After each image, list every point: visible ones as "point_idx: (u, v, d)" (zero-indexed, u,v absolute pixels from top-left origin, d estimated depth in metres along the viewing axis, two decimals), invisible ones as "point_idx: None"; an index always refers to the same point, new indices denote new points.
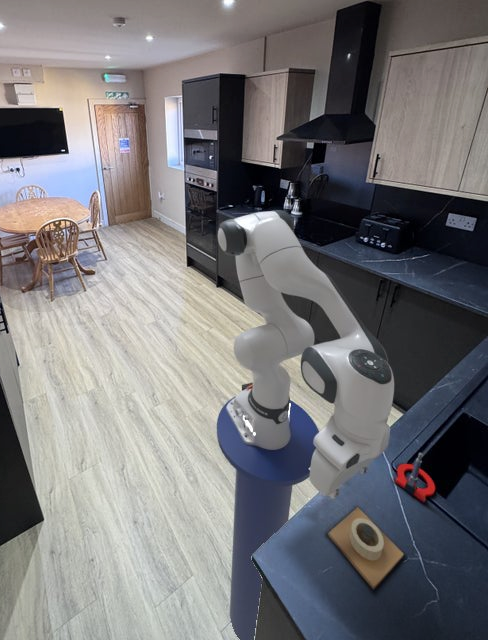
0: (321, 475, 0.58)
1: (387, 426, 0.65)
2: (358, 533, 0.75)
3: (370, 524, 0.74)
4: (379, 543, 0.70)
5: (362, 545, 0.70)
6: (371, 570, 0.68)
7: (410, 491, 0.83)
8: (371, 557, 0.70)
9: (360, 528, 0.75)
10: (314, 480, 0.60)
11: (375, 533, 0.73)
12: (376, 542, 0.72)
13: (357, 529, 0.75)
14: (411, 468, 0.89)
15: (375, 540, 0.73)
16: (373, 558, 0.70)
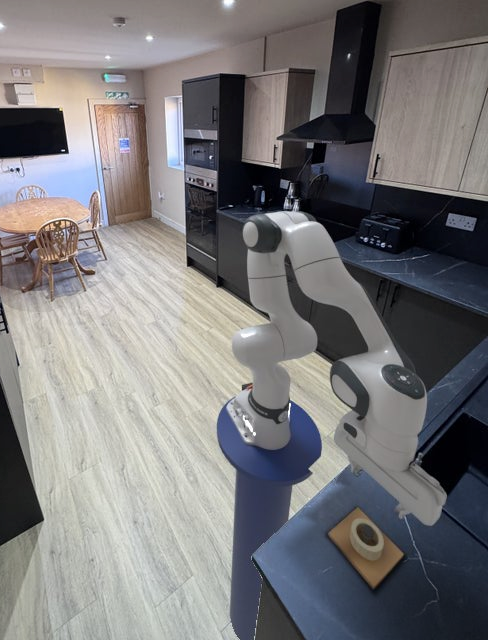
0: None
1: (426, 491, 0.57)
2: (358, 533, 0.75)
3: (370, 524, 0.74)
4: (379, 543, 0.70)
5: (362, 545, 0.70)
6: (371, 570, 0.68)
7: None
8: (371, 557, 0.70)
9: (360, 528, 0.75)
10: None
11: (375, 533, 0.73)
12: (376, 542, 0.72)
13: (357, 529, 0.75)
14: None
15: (375, 540, 0.73)
16: (373, 558, 0.70)
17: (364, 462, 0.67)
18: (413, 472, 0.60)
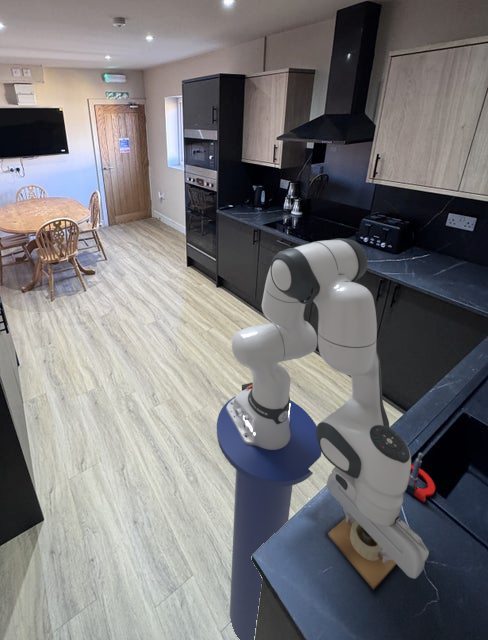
0: None
1: (410, 547, 0.62)
2: (358, 533, 0.75)
3: None
4: None
5: (362, 545, 0.70)
6: (371, 570, 0.68)
7: (410, 491, 0.83)
8: (371, 557, 0.70)
9: (360, 528, 0.75)
10: None
11: None
12: (376, 542, 0.72)
13: (357, 529, 0.75)
14: (411, 468, 0.89)
15: None
16: (373, 558, 0.70)
17: (354, 512, 0.72)
18: (399, 527, 0.64)
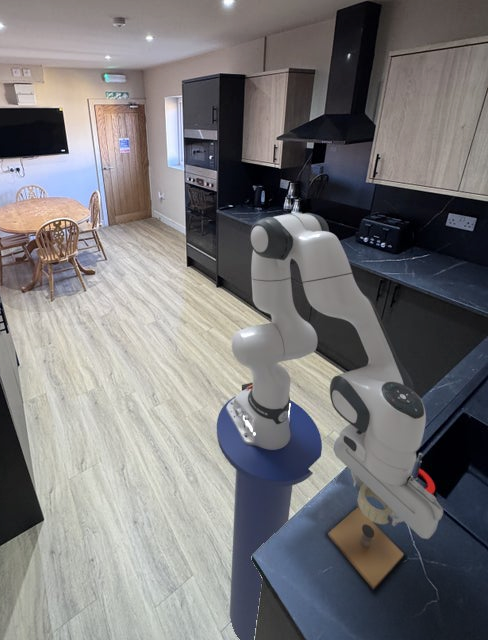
0: None
1: (423, 506, 0.58)
2: (358, 533, 0.75)
3: None
4: None
5: (371, 508, 0.67)
6: (371, 570, 0.68)
7: None
8: (380, 520, 0.67)
9: (368, 493, 0.72)
10: None
11: None
12: (385, 506, 0.69)
13: (365, 493, 0.72)
14: None
15: (384, 504, 0.70)
16: (383, 521, 0.67)
17: (363, 474, 0.69)
18: (411, 486, 0.61)
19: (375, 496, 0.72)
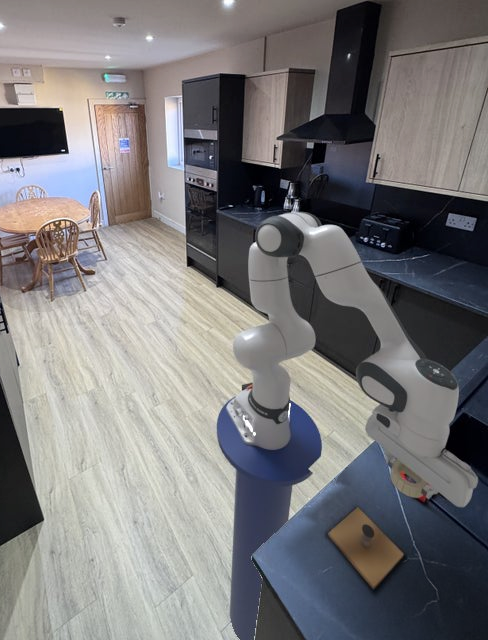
0: None
1: (459, 475, 0.62)
2: (358, 533, 0.75)
3: None
4: (422, 481, 0.70)
5: (405, 482, 0.70)
6: (371, 570, 0.68)
7: None
8: (414, 494, 0.70)
9: (401, 469, 0.75)
10: None
11: None
12: (418, 481, 0.72)
13: (398, 470, 0.75)
14: None
15: (417, 480, 0.73)
16: (417, 494, 0.70)
17: (396, 450, 0.72)
18: (445, 458, 0.64)
19: (407, 472, 0.75)
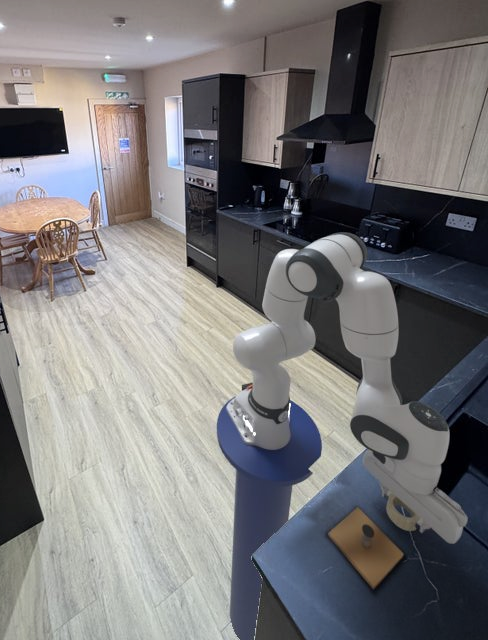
0: None
1: (449, 514, 0.66)
2: (358, 533, 0.75)
3: None
4: (416, 515, 0.74)
5: (400, 516, 0.74)
6: (371, 570, 0.68)
7: None
8: (409, 527, 0.74)
9: (396, 502, 0.79)
10: None
11: None
12: (412, 514, 0.76)
13: (393, 502, 0.79)
14: None
15: (411, 513, 0.77)
16: (411, 528, 0.74)
17: (391, 485, 0.76)
18: (437, 496, 0.68)
19: (402, 505, 0.78)
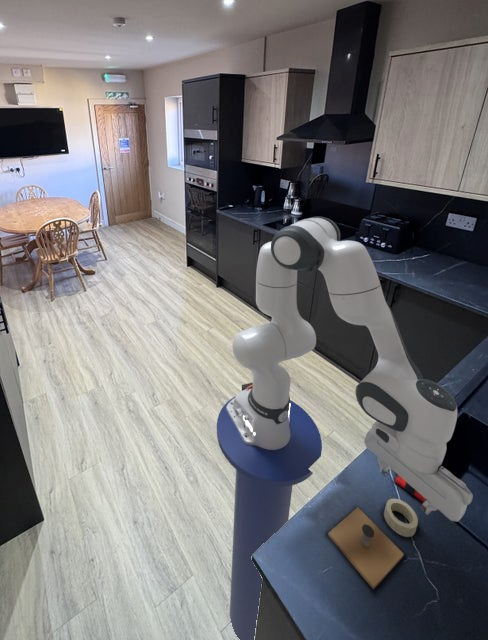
0: None
1: (454, 492, 0.64)
2: (358, 533, 0.75)
3: (403, 504, 0.79)
4: (413, 520, 0.75)
5: (398, 522, 0.75)
6: (371, 570, 0.68)
7: (410, 491, 0.83)
8: (406, 533, 0.75)
9: (394, 508, 0.80)
10: None
11: (409, 512, 0.78)
12: (410, 520, 0.77)
13: (391, 508, 0.79)
14: None
15: (409, 518, 0.78)
16: (408, 534, 0.74)
17: (394, 464, 0.75)
18: (442, 474, 0.67)
19: (400, 511, 0.79)
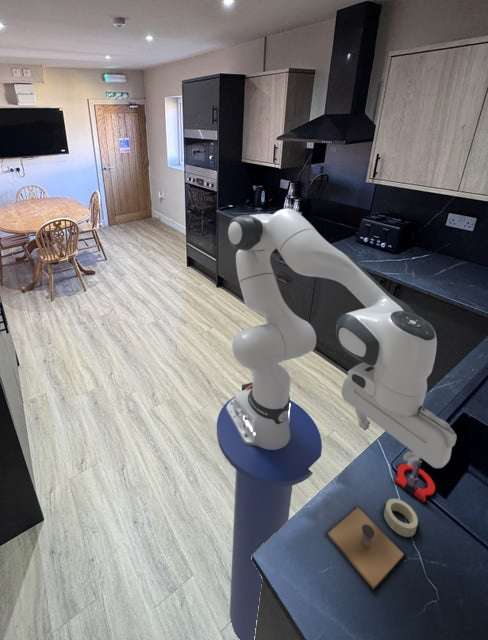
0: None
1: (436, 433, 0.57)
2: (358, 533, 0.75)
3: (403, 504, 0.79)
4: (413, 520, 0.75)
5: (398, 522, 0.75)
6: (371, 570, 0.68)
7: (410, 491, 0.83)
8: (406, 533, 0.75)
9: (394, 508, 0.80)
10: None
11: (409, 512, 0.78)
12: (410, 520, 0.77)
13: (391, 508, 0.79)
14: (411, 468, 0.89)
15: (409, 518, 0.78)
16: (408, 534, 0.74)
17: (372, 413, 0.67)
18: (422, 416, 0.60)
19: (400, 511, 0.79)
